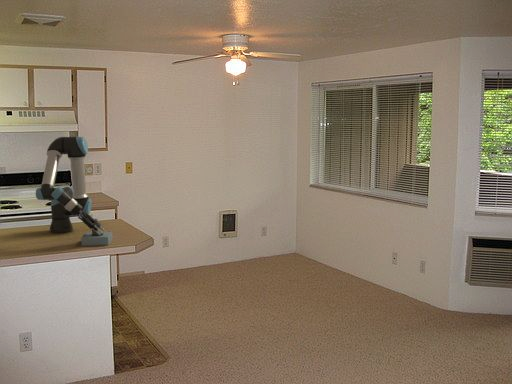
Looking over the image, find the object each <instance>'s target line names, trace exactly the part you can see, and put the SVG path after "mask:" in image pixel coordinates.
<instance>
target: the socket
mask: <svg viewBox="0 0 512 384" xmlns="http://www.w3.org/2000/svg"><path fill="white" fill-rule="evenodd" d="M113 236H114V235H113V231H103V233H102V236H92V231H89V232H88V231H87V232H85V233H84V234H83V235H82V236H81V239H80V240H81V246H82V247H87V246H109V245H110V243H111V242H112V241H113V239H114V238H113Z"/></svg>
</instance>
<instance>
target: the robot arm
mask: <svg viewBox="0 0 512 384" xmlns="http://www.w3.org/2000/svg"><path fill="white" fill-rule="evenodd" d="M88 153H89V145H88V142H87V140H86V138H85V137H84V136H60V137H59V136H58V137H57V138H55V139H54V140H53V141H51V143H50V144H49V146H48V148H47V151H46V156H47V158H46V162H45V167H44V173H43V176H42V182H41V186H40V187H37V188H36V190H35V197H36V199H37V200H39V201H50V214H51V223H50V226H49V233H51V234H52V233H54V234H58V233H59V234H64V233H71V232H72V231H74V228H73V224H72V221H71V219H70V218H71V217H72V216H77V218H78V219H79V220H81V221H82V222H83V224H85V225H86V226H87V227H88V228H89V229H90V230H92V229H93V230H94V231H95V232H97V233H98V234H99V235H101V234H102V233H103V232H105V229H104V227H102V231H101V230H100V229H99V228H98V227H97V226H96V225H95V226H94V224H93V223H95V218H93V217H92V215H90V213H91V210H92V208H93V207H92V204H93V200H92V198H91V197H90V198H89V194H87V189H86V187H87V186H86V176H85V175H86V173H85V161H84V160H85V158H86V157H87V156H86V155H88ZM63 155H67V158H68V159H69V161H70V172H71V173H70V174H71V184H72V185H71V186H72V187H71V186H65V187H61V186H57V187H55V183H56V179H57V175H58V174H57V173H58V167H59V164H60V160H61V158H62V157H63Z"/></svg>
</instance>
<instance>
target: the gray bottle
mask: <svg viewBox="0 0 512 384" xmlns="http://www.w3.org/2000/svg"><path fill="white" fill-rule="evenodd" d="M94 220H95V223H93V224H94V226H95V225H96V226H97V227H98V228H99V229H100V230H101V231H102V228H103V227H102V222H99V218H94ZM91 232H92V236H102V234H101V235H99V234H98V233H97V232H95V231H94V230H93V229H91Z"/></svg>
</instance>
